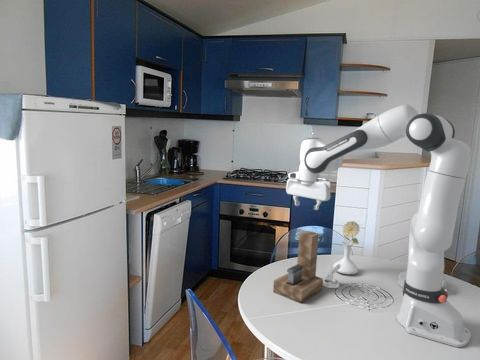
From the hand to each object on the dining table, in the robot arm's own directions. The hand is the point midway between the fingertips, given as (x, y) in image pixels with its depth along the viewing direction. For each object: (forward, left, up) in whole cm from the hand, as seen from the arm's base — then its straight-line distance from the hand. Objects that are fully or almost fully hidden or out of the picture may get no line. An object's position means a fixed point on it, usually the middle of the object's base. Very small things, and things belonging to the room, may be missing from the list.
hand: (306, 207), depth 159 cm
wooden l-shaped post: (-7, +14, -31) cm, 35 cm away
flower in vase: (-12, -19, -32) cm, 39 cm away
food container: (-42, -30, -32) cm, 60 cm away
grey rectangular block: (-7, +17, -30) cm, 35 cm away
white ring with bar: (-13, -2, -32) cm, 34 cm away
